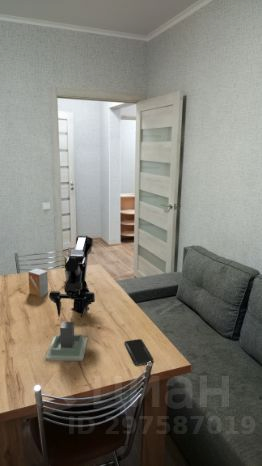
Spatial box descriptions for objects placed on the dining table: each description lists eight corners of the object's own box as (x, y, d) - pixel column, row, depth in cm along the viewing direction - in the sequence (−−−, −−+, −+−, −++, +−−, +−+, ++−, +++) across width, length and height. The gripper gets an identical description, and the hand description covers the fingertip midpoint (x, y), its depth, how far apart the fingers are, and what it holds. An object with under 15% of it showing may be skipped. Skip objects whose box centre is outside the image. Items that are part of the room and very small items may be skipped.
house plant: (87, 276, 204) (87, 251, 200) (81, 285, 191) (81, 258, 187) (64, 274, 205) (64, 249, 201) (57, 283, 192) (57, 257, 188)
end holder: (54, 338, 138) (53, 331, 137) (87, 339, 138) (87, 332, 137) (45, 360, 124) (45, 351, 123) (82, 361, 124) (82, 352, 124)
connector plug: (62, 343, 133) (62, 321, 131) (74, 343, 133) (74, 321, 131) (60, 350, 128) (59, 328, 126) (72, 351, 129) (72, 328, 126)
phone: (134, 363, 123) (123, 341, 136) (134, 366, 123) (123, 343, 137) (154, 360, 125) (141, 338, 139) (154, 363, 125) (141, 340, 139)
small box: (29, 293, 178) (27, 271, 175) (37, 289, 183) (36, 267, 180) (40, 297, 174) (39, 274, 171) (48, 293, 180) (47, 271, 176)
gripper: (49, 273, 135) (43, 310, 128) (94, 274, 136) (91, 311, 128) (54, 283, 145) (49, 318, 137) (96, 284, 145) (93, 319, 138)
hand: (70, 316), depth 135 cm, fingers open, 9 cm apart
